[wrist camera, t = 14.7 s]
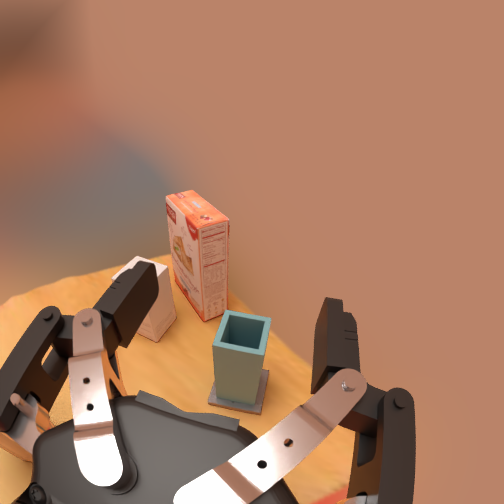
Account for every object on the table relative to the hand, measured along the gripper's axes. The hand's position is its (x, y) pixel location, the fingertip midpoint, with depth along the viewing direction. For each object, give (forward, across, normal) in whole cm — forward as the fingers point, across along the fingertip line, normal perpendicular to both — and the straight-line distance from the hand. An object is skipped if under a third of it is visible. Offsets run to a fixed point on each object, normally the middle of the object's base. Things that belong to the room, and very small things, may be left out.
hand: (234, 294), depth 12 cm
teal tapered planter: (+11, +1, +31) cm, 33 cm away
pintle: (+11, +1, +32) cm, 34 cm away
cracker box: (+30, +14, +32) cm, 46 cm away
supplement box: (+20, +20, +32) cm, 43 cm away
